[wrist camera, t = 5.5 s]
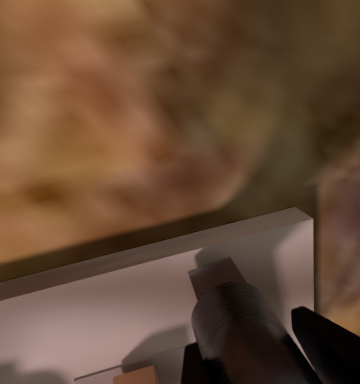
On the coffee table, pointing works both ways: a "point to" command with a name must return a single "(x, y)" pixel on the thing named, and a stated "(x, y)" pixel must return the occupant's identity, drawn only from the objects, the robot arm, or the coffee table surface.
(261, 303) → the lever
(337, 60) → the coffee table surface
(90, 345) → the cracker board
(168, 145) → the coffee table surface
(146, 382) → the terracotta cube
